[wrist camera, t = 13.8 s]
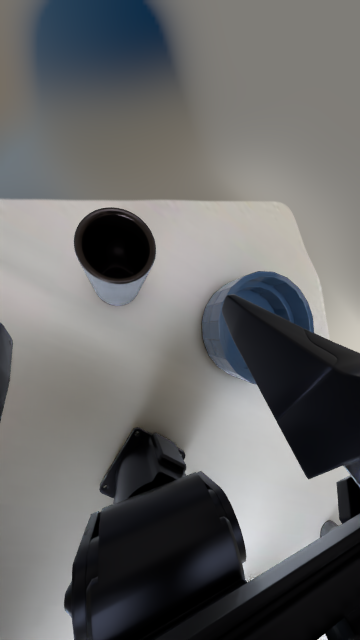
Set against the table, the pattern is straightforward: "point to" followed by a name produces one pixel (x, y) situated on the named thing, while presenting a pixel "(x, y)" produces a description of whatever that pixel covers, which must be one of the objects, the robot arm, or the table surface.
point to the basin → (262, 292)
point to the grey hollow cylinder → (115, 253)
